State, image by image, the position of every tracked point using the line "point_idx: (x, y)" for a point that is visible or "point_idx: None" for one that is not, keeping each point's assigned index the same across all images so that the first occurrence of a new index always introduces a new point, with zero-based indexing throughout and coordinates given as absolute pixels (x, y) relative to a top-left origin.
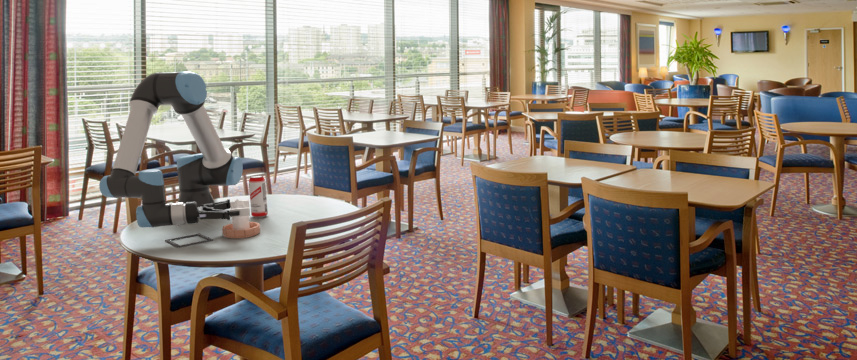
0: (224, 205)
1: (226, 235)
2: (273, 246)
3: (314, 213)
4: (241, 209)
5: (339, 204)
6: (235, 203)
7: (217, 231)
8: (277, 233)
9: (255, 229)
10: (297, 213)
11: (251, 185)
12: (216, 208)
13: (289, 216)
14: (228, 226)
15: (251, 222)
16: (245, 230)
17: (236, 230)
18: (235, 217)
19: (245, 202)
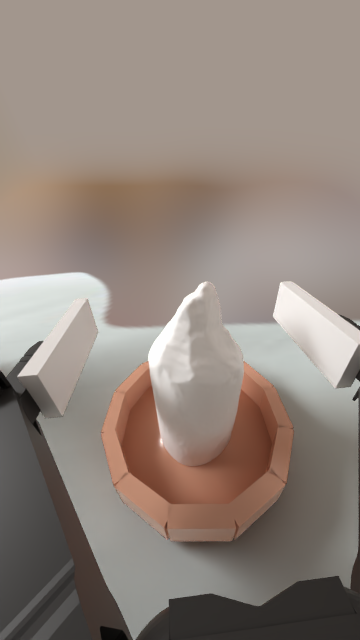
0: (38, 441)
1: (277, 499)
2: None
3: (59, 296)
4: (315, 303)
5: (25, 278)
6: (209, 317)
7: None
8: None
9: None
10: (25, 315)
11: None
12: (84, 559)
13: (41, 325)
14: (148, 490)
15: (142, 375)
16: (270, 385)
17: (286, 419)
18: (240, 387)
19: (85, 317)
